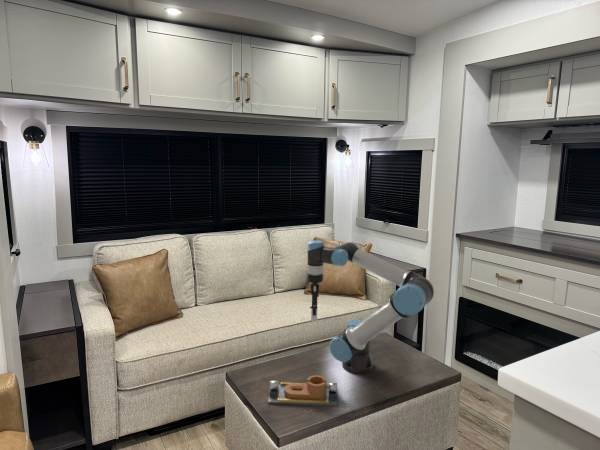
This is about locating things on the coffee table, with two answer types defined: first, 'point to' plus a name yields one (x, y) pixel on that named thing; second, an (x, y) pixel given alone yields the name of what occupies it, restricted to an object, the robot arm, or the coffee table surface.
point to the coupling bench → (278, 398)
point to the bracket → (307, 389)
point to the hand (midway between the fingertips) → (314, 315)
